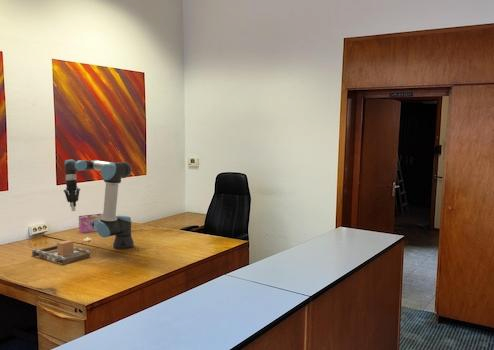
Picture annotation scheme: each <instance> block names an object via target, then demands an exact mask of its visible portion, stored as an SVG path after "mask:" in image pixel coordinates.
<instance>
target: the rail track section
mask: <svg viewBox="0 0 494 350" xmlns="http://www.w3.org/2000/svg"><path fill="white" fill-rule="evenodd" d="M73 251H74V253H71V254H67V255H59V254H58V250H57V245H53V246H49V247H45V248H41V249H36V248H32V250H31V254H32V256H33V257H34V256H37V257H39V259H43V260H46V261H50V262H54V263H59V264H61V265H67V264H70V263H74V262H78V261H81V260H86V259H90V257H91V253H90V250H87V249H83V248H80V247H76V246H73Z"/></svg>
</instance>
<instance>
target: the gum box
mask: <svg viewBox="0 0 494 350" xmlns="http://www.w3.org/2000/svg"><path fill="white" fill-rule="evenodd" d="M102 216H103V213H96V214H85V215H79V216H78V231H79V233H81V234H84V233H93V232H97V229H96V225H97V223H98V222H100V220H101V217H102Z"/></svg>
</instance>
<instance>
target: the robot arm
mask: <svg viewBox="0 0 494 350" xmlns="http://www.w3.org/2000/svg"><path fill="white" fill-rule="evenodd" d="M132 169H133V168H132V166H131V164H129V162H126V161H120V162H119V161H117V162H110V161H103V160H98V159H89V160H84V159H82V160H81V159H80V160H75V159H65V161H64V174H65V185H66V188H65V189H63V192H64V194H65V198H66V201H67V203H69V205H70V206H69V207H70V208H71V212H75V211H76V207H77V202H78V201H79V197H80V191H81V188H80V187H78V184H77V183H78V182H77V172H80V171H99V172H100V176H101V178H102V180H103V182H104V183H105V189H104V200H103V201H104V202H103V213H102V214H103V216H102V217H101V220H100V222H98V223H97V225H96V229H97V231H96V232H97V234H98V235H99V236H100V237H101V238H109V237H112V236H114V240H113V244H112V248H113V249H115V250H116V249H117V250H127V249H131V248H133V247H134V246H135V242H134V240H133V236H132V218H131V217H130V216H127V215H117V206H118V205H117V203H118V195H119V192H118V191H119V184H121V183H122V179H125V178H129V176H131V173H132Z"/></svg>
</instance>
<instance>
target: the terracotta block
mask: <svg viewBox="0 0 494 350" xmlns="http://www.w3.org/2000/svg"><path fill="white" fill-rule="evenodd" d="M56 246H57V250H58V254H59V255H67V254H71V253H74V251H73V247H74V241H73V240H69V239H67V240H61V241H57V242H56Z"/></svg>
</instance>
